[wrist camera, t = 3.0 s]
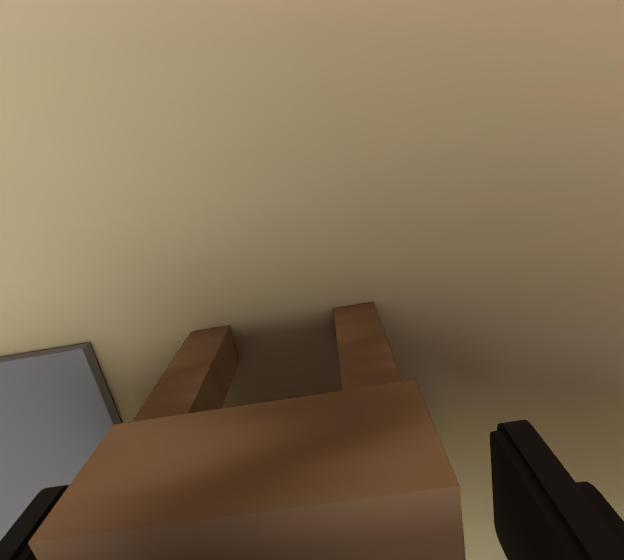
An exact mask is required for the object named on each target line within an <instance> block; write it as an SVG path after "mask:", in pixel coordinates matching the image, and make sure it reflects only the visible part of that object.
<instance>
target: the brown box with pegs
mask: <svg viewBox="0 0 624 560" xmlns="http://www.w3.org/2000/svg"><path fill="white" fill-rule="evenodd" d="M333 309H334V318H335V328H336V337H337V346H338V355H339V365H340V374H341V383H342V390H341V391H335V392H328V393H321V394H315V395H308V396H301V397H295V398H288V399H281V400H275V401H268V402H262V403H255V404H248V405H242V406H235V407H228V408H222V406H223V403H224V400H225V397H226V394H227V392H228V389H229V386H230V383H231V380H232V377H233V375H234V372H235V369H236V366H237V363H238V360H239V359H238V356H237V352H236V348H235V345H234V341H233V337H232V334H231V330H230V326H224V327H218V328H212V329H206V330H200V331H193V332H191V333H190V334H189V336H188V337H187V339H186V341H185V342H184V344H183V345H182V347H181V348H180V350H179V351H178V353H177V354H176V356H175V357H174V359H173V360H172V362H171V363H170V365H169V366H168V368H167V369H166V371H165V372H164V374H163V375H162V377H161V379H160V380H159V382H158V383H157V385H156V386H155V388H154V389H153V391H152V392H151V394H150V395H149V397H148V398H147V400H146V401H145V403H144V404H143V406H142V407H141V409H140V410H139V412H138V414H137V415H136V417H135V418H134V420H133V421H132V422H129V423H122V424H116V425H112V427H111V428H110V429H109V431H108V432H107V434H106V435H105V436H104V438H103V439H102V440H101V442H100V443H99V445H98V446H97V447H96V449H95V450H94V452H93V453H92V454H91V456H90V457H89V459H88V460H87V461H86V463H85V464H84V466H83V467H82V468H81V470H80V471H79V472H78V474H77V475H76V477H75V478H74V479H73V481H72V482H71V484H70V485H69V486H68V488H67V489H66V491H65V492H64V493H63V495H62V496H61V498H60V499H59V500H58V502H57V503H56V504H55V506H54V507H53V509H52V510H51V511H50V513H49V514H48V516H47V517H46V518H45V520H44V521H43V523H42V524H41V525H40V527H39V528H38V530H37V531H36V532H35V534H34V535H33V536H32V538H31V539H30V541H29V542H28V544H29V546H30V548H31V550H32V551H33V553H34V555H35V557H36V559H37V560H466V559H465V547H464V535H463V523H462V511H461V499H460V487H459V484H458V481H457V479H456V476H455V474H454V472H453V469H452V467H451V465H450V462H449V460H448V457H447V455H446V453H445V450H444V448H443V445H442V443H441V441H440V438H439V436H438V434H437V431H436V429H435V426H434V424H433V422H432V419H431V417H430V414H429V412H428V410H427V407H426V405H425V402H424V400H423V398H422V395H421V393H420V391H419V388H418V386H417V383H416V381H415V379H414V380H408V381H402V379H401V376H400V374H399V371H398V368H397V365H396V363H395V360H394V357H393V354H392V352H391V349H390V346H389V343H388V341H387V338H386V335H385V332H384V330H383V327H382V324H381V321H380V319H379V316H378V313H377V310H376V308H375V305H374V302H370V303H364V304H358V305H352V306H346V307H339V308H333ZM221 408H222V409H221Z"/></svg>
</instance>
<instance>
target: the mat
mask: <svg viewBox="0 0 624 560" xmlns="http://www.w3.org/2000/svg"><path fill="white" fill-rule="evenodd" d="M116 424H122V423H121V420H120V418H119V415H118V413H117V410H116V408H115V405H114V403H113V400H112V398H111V395H110V393H109V390H108V388H107V385H106V383H105V380H104V378H103V375H102V373H101V370H100V368H99V365H98V363H97V360H96V358H95V355H94V353H93V350H92V348H91V345H90V343H84V344H78V345H72V346H66V347H60V348H54V349H48V350H42V351H35V352H29V353H23V354H17V355H11V356H5V357H0V541H1V539H2V538H3V537H4V536H5V534H6V533H7V532H8V530H9V529H10V528H11V527H12V525H13V524H14V523H15V522H16V520H17V519H18V518H19V517H20V515H21V514H22V513H23V511H24V510H25V509H26V508H27V506H28V505H29V504H30V503H31V501H32V500H33V499H34V498H35V496H36V495H37V494H38V493H39V492H40V491H41V490H42V489H44V488H48V487H55V486H62V485H70V484H71V482H72V481H73V479H74V478H75V477H76V475H77V474H78V472H79V471H80V470H81V468H82V467H83V466H84V464H85V463H86V461H87V460H88V459H89V457H90V456H91V454H92V453H93V452H94V450H95V449H96V447H97V446H98V445H99V443H100V442H101V440H102V439H103V438H104V436H105V435H106V434H107V432H108V431H109V429H110V428H111V427H112V425H116Z"/></svg>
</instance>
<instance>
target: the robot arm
mask: <svg viewBox="0 0 624 560" xmlns="http://www.w3.org/2000/svg"><path fill="white" fill-rule="evenodd" d="M490 447H491V467H492V487H493V508H494V524H495V530H496V533H497V536H498V539H499V542H500V544H501V546H502V548H503V551H504V553H505V555H506V557H507V559H508V560H624V521H623V520H622V519H621V518H620V517H619V515H618V514H617V513H616V512H615V510H614V509H613V508H612V507H611V505H610V504H609V503H608V502H607V501H606V499H605V498H604V497H603V496H602V494H601V493H600V492H599V491H598V490H597V489H596V488H595V487H594V486H593V485H591V484H590V483H588V482H577V483H576V482H575V481H574V480H573V478H572V477H571V476H570V474H569V473H568V472H567V471H566V469H565V468H564V467H563V465H562V464H561V463H560V461H559V460H558V459H557V457H556V456H555V455H554V454H553V452H552V451H551V450H550V448H549V447H548V446H547V444H546V443H545V442H544V441H543V439H542V438H541V437H540V435H539V434H538V433H537V431H536V430H535V429H534V427H533V426H532V425H531V424H530V423H529V422H528V421H527V420H519V421H512V422H505V423H500V424H498V426H497V431H494V432H491V433H490ZM68 486H69V485H62V486H55V487H48V488H44V489H42V490H41V491H40V492H39V493H38V494H37V495H36V496H35V498H34V499H33V500H32V501H31V503H30V504H29V505H28V506H27V508H26V509H25V510H24V511H23V513H22V514H21V515H20V517H19V518H18V519H17V520H16V522H15V523H14V524H13V525H12V527H11V528H10V529H9V530H8V532H7V533H6V534H5V536H4V537H3V538H2V539H1V541H0V560H37V559H36V557H35V555H34V553H33V551H32V550H31V548H30V546H29V544H28V542H29V541H30V539H31V538H32V536H33V535H34V534H35V532H36V531H37V530H38V528H39V527H40V525H41V524H42V523H43V521H44V520H45V518H46V517H47V516H48V514H49V513H50V511H51V510H52V509H53V507H54V506H55V504H56V503H57V502H58V500H59V499H60V498H61V496H62V495H63V493H64V492H65V491H66V489H67V488H68Z"/></svg>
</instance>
